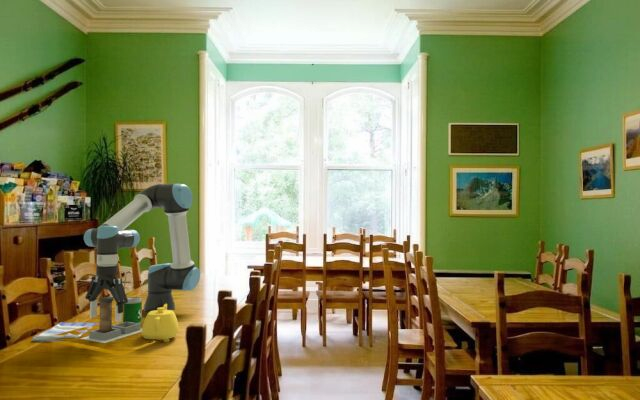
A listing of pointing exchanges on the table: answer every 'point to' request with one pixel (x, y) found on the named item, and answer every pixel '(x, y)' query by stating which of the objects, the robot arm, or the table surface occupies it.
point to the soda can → (132, 310)
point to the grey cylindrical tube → (105, 314)
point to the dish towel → (60, 328)
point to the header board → (114, 332)
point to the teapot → (160, 324)
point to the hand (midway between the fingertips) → (105, 319)
